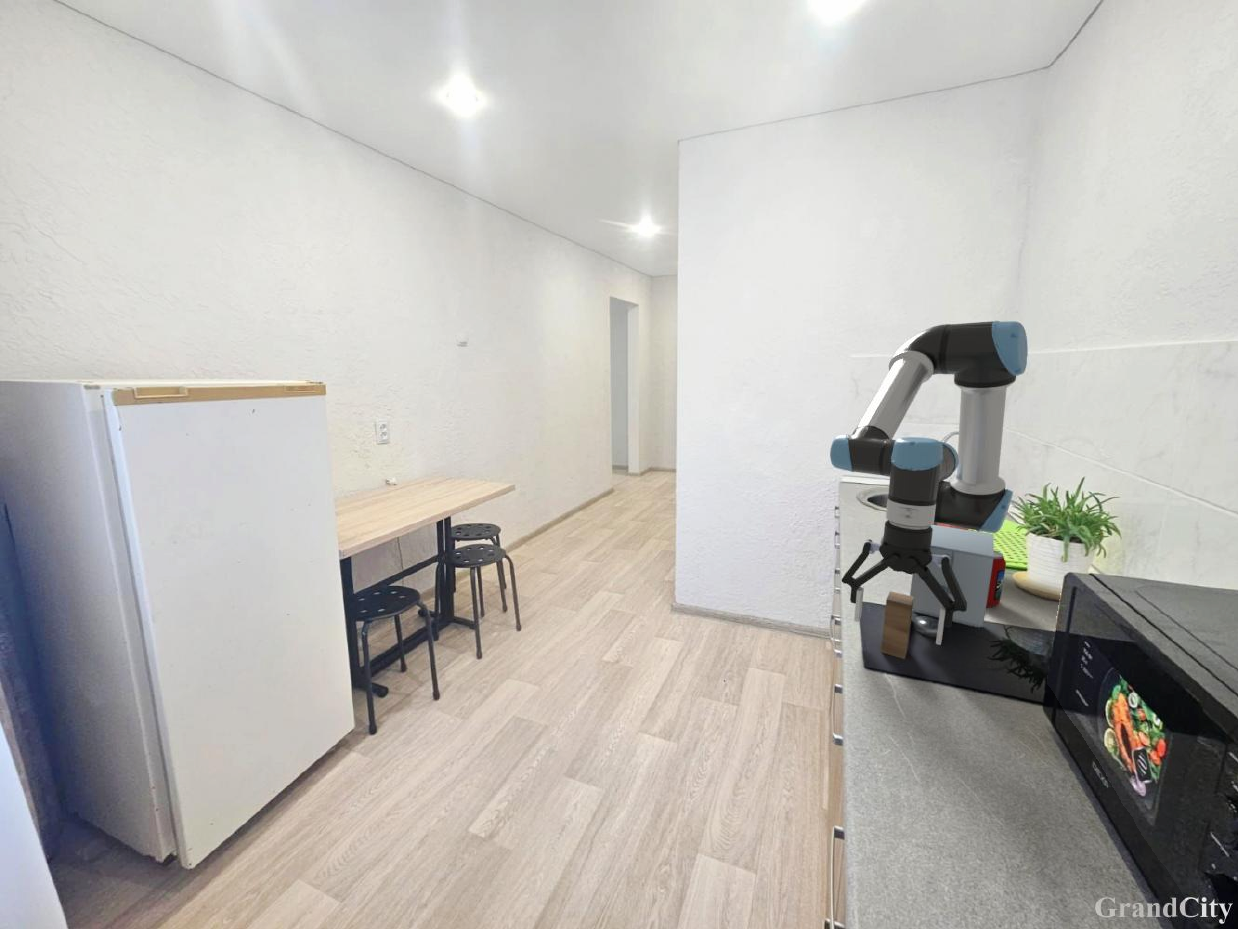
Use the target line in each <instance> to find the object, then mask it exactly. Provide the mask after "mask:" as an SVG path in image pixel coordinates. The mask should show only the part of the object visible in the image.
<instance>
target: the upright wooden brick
mask: <svg viewBox="0 0 1238 929" xmlns="http://www.w3.org/2000/svg"><path fill="white" fill-rule="evenodd" d="M885 600H886V601H885V610H884V611H885V612H884V617H883V618H884V619H883V621H884V622H883V628H882V637H881V638H882V639H881V648H880V652H881V653H884V654H886V655H889V656H890V655H891V656H893V657H896V658H899V659H903V660H905V659H906V656H907V653H908V649H909V641H910V635H911V634H910V632H911V625H912V617H913V610H912V609H913V600H914V597H913V596H910V595H907V594H904V593H900V592H895V591H889V592H888V594H887V597H886V599H885Z"/></svg>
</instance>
